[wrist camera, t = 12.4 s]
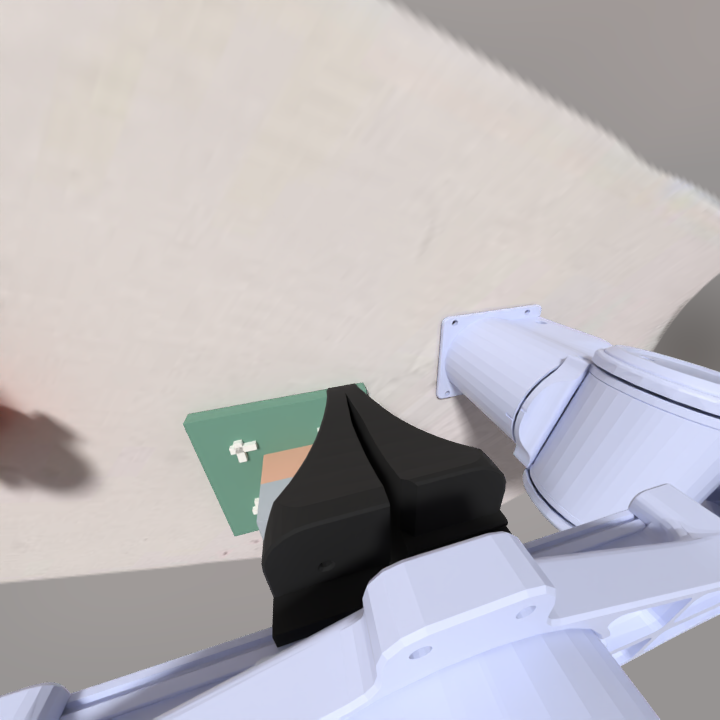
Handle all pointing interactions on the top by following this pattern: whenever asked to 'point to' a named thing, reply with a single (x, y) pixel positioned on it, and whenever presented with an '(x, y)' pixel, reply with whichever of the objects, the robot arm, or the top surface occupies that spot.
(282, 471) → the brick stack
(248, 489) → the base plate
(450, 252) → the top surface
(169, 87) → the top surface
